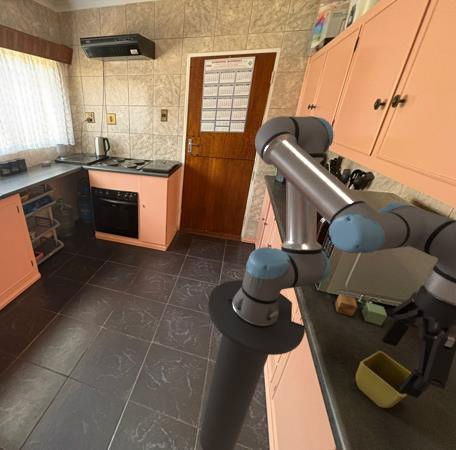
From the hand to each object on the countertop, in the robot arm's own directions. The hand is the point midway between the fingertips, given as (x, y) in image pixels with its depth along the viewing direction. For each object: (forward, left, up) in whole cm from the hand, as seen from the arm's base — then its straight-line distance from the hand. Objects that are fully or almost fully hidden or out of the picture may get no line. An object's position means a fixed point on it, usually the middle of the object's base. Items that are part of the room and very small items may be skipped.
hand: (397, 365), depth 57 cm
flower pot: (0, 0, -12) cm, 12 cm away
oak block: (-3, +30, -12) cm, 32 cm away
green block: (+5, +30, -12) cm, 33 cm away
